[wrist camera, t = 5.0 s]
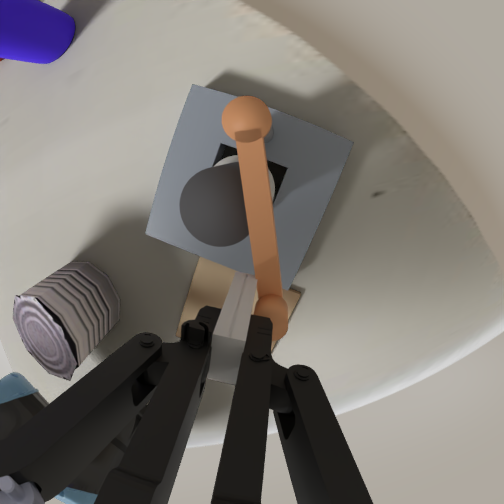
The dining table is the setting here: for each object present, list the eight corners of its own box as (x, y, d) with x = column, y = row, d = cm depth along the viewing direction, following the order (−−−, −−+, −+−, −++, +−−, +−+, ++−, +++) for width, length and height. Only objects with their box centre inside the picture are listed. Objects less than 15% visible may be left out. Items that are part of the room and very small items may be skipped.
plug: (263, 222, 31) (248, 270, 19) (208, 201, 31) (160, 235, 19) (285, 167, 29) (285, 178, 17) (228, 146, 29) (187, 143, 17)
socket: (288, 278, 33) (287, 351, 21) (156, 226, 33) (92, 269, 20) (347, 143, 27) (390, 138, 15) (201, 89, 27) (147, 55, 15)
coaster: (261, 365, 38) (261, 368, 37) (177, 333, 37) (175, 335, 37) (300, 292, 33) (300, 294, 33) (201, 253, 33) (200, 255, 33)
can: (109, 343, 40) (69, 394, 29) (55, 300, 39) (7, 339, 27) (132, 291, 36) (82, 343, 25) (69, 243, 35) (9, 278, 24)
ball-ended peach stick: (293, 311, 19) (294, 339, 16) (254, 313, 19) (248, 342, 16) (268, 96, 15) (264, 84, 12) (223, 103, 15) (209, 93, 12)
